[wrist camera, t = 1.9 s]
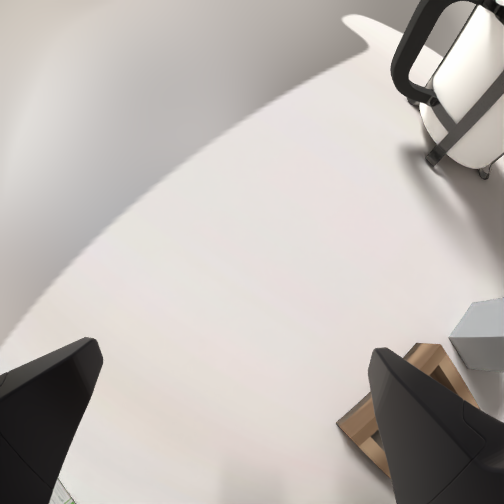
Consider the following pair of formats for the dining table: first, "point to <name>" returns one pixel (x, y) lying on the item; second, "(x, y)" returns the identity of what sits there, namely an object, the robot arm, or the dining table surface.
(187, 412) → the dining table surface
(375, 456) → the socket
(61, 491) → the syrup box
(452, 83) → the coffee press
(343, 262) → the dining table surface
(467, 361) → the plug
